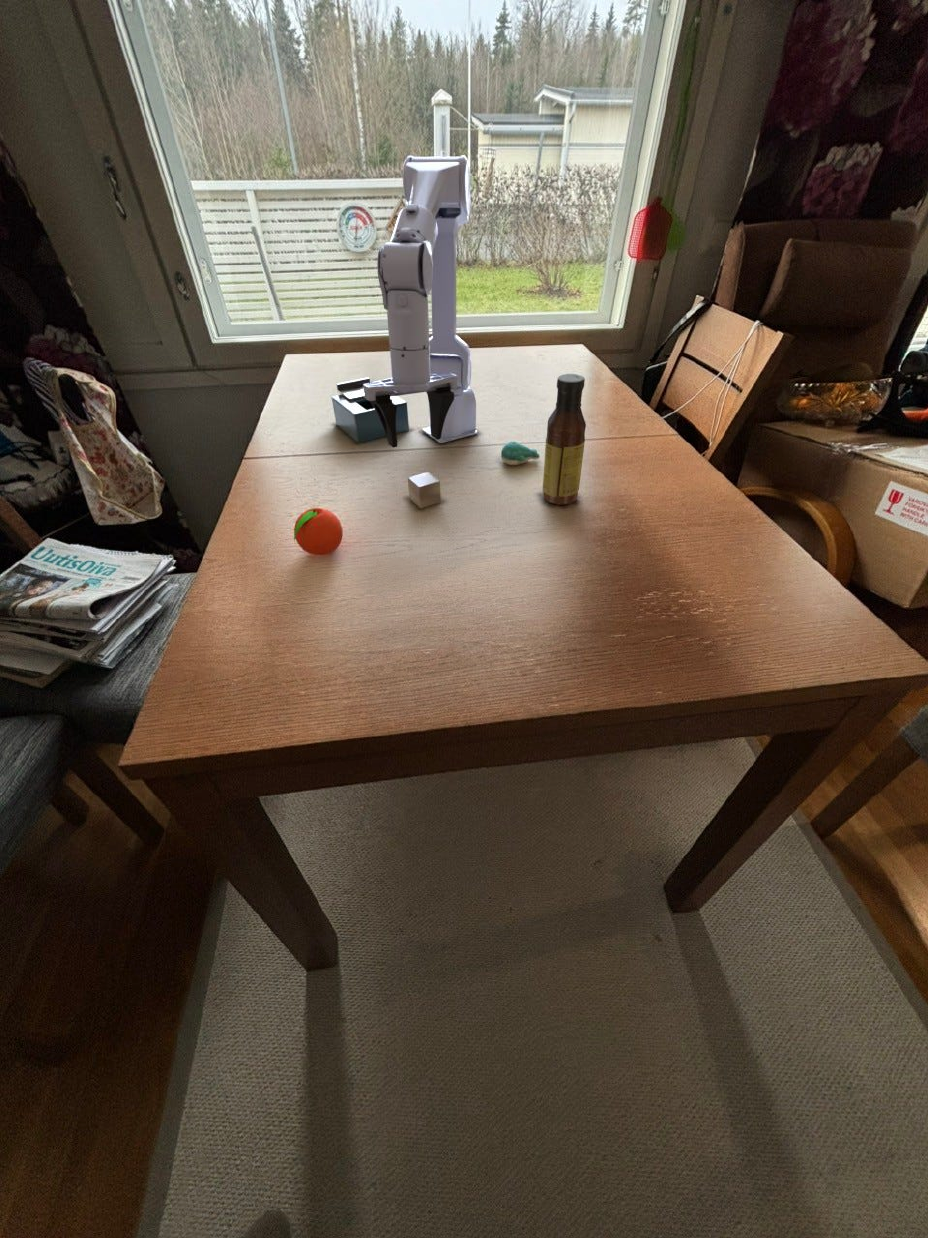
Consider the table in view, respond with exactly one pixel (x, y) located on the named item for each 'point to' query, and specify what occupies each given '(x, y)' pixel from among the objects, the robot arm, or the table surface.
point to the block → (424, 489)
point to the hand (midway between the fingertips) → (414, 441)
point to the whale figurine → (517, 453)
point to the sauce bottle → (565, 442)
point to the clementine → (318, 531)
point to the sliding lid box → (366, 418)
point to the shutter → (352, 389)
